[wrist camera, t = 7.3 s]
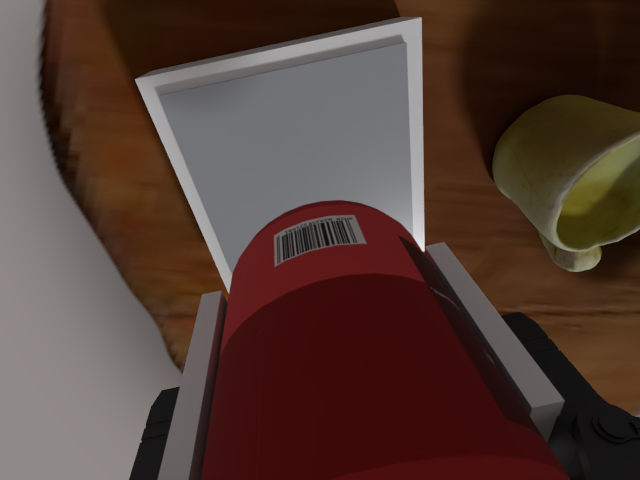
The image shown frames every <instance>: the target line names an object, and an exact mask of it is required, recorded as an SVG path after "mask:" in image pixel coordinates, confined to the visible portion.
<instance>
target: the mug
mask: <svg viewBox="0 0 640 480" xmlns="http://www.w3.org/2000/svg"><path fill="white" fill-rule="evenodd" d="M492 172H493V178H494V181H495V184H496V186H497V188H498V189H499V190H500V191H501V192H502V193H503V194H504V195H505V196H506V197H508V198H509V199H511V200H512V201H513V202H514V203H515V204H516V205H517V206H518V207H519V208H520V210H521V211H522V212H523V213H524V214H525V216H526V217H527V218H528V219H529V220H530V221H531V222H532V224H533V225H534V226H535V227H536V228H537V229H538V230H539V235H540V238H541V240H542V242H543V244H544V246H545V247H546V248H547V250H548V253H549V255H550V257H551V259H552V261H553V262H554V263H555V264H557V265H559V266H560V267H562V268H565V269H566V270H568V271H574V272H579V271H584V270H589V269H591V268H593V267H594V266H596V265H597V263H598V262H599V261H600V259H601V255H602V251H601V247H600V246H601V245H606V244H609V243H613V242H618V241H620V240H621V239H623V238H625V237H627V236H629V235H630V234H633V233H635V232H636V231H638V230H639V229H640V112H635V111H631V110H627V109H624V108H621V107H618V106H614V105H611V104H608V103H605V102H601V101H598V100H595V99H592V98H589V97H585V96H581V95H561V96H555V97H551V98H548V99H546V100H544V101H543V102H541V103H539V104H538V105H536V106H534V107H532V108H530V109H528V110H527V111H525V112H524V113H523V114H522V115H521V116H520V117H519V118H518V119H517V120H516V121H515V122H513V123H512V124H511V125H510V126H509V128H508V129H507V130H506V131H505V132H504V133H503V134H502V135H501V137H500V139H499V140H498V142H497V144H496V146H495V151H494V157H493V165H492Z"/></svg>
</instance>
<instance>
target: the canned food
mask: <svg viewBox="0 0 640 480" xmlns="http://www.w3.org/2000/svg"><path fill="white" fill-rule="evenodd" d="M201 480H571V479H570V477H569V476H568V474H567V473H566V471H565V470H564V468H563V467H562V465H561V464H560V462H559V461H558V459H557V458H556V456H555V454H554V453H553V451H552V450H551V448H550V447H549V445H548V444H547V442H546V441H545V439H544V438H543V436H542V434H541V433H540V431H539V430H538V428H537V427H536V425H535V424H534V422H533V421H532V419H531V418H530V416H529V414H528V413H527V411H526V410H525V408H524V407H523V405H522V404H521V402H520V401H519V399H518V398H517V396H516V394H515V393H514V391H513V390H512V388H511V387H510V385H509V384H508V382H507V381H506V379H505V378H504V376H503V374H502V373H501V371H500V370H499V368H498V367H497V365H496V364H495V362H494V361H493V359H492V358H491V356H490V354H489V353H488V351H487V350H486V348H485V347H484V345H483V344H482V342H481V341H480V339H479V338H478V336H477V334H476V333H475V331H474V330H473V328H472V327H471V325H470V324H469V322H468V321H467V319H466V318H465V316H464V314H463V313H462V311H461V310H460V308H459V307H458V305H457V304H456V302H455V301H454V299H453V298H452V296H451V294H450V293H449V291H448V290H447V288H446V287H445V285H444V284H443V282H442V281H441V279H440V278H439V276H438V274H437V273H436V271H435V270H434V268H433V267H432V265H431V264H430V262H429V261H428V259H427V258H426V256H425V254H424V253H423V251H422V250H421V248H420V247H419V245H418V244H417V242H416V241H415V239H414V238H413V236H412V234H411V233H410V232H409V231H408V230H407V229H406V228H405V227H404V226H403V225H402V224H401V223H400V222H398V221H397V220H395V219H393V218H392V217H390V216H389V215H387V214H385V213H384V212H382V211H380V210H378V209H376V208H373V207H371V206H368V205H365V204H362V203H358V202H352V201H345V200H331V201H320V202H315V203H310V204H305V205H302V206H300V207H297V208H295V209H292V210H290V211H287V212H285V213H283V214H282V215H280V216H278V217H277V218H275V219H274V220H272V221H270V222H269V223H268V224H267V225H266V226H265V227H263V228H262V229H261V230H260V231H259V232H258V233H257V234H256V235H255V236H254V238H253V239H252V241H251V242H250V243H249V245H248V246H247V247H246V249H245V250H244V252H243V253H242V254H241V256H240V257H239V259H238V262H237V264H236V266H235V268H234V271H233V273H232V279H231V285H230V292H229V298H228V305H227V311H226V318H225V324H224V331H223V337H222V344H221V350H220V357H219V363H218V370H217V376H216V383H215V389H214V396H213V403H212V409H211V416H210V422H209V429H208V435H207V442H206V448H205V455H204V461H203V468H202V474H201Z"/></svg>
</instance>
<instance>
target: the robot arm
mask: <svg viewBox="0 0 640 480" xmlns="http://www.w3.org/2000/svg"><path fill="white" fill-rule="evenodd" d="M425 256H426V258H427V259H428V261H429V262H430V264H431V265H432V267H433V268H434V270H435V271H436V273H437V274H438V276H439V278H440V279H441V281H442V282H443V284H444V285H445V287H446V288H447V290H448V291H449V293H450V294H451V296H452V298H453V299H454V301H455V302H456V304H457V305H458V307H459V308H460V310H461V311H462V313H463V314H464V316H465V318H466V319H467V321H468V322H469V324H470V325H471V327H472V328H473V330H474V331H475V333H476V334H477V336H478V338H479V339H480V341H481V342H482V344H483V345H484V347H485V348H486V350H487V351H488V353H489V354H490V356H491V358H492V359H493V361H494V362H495V364H496V365H497V367H498V368H499V370H500V371H501V373H502V374H503V376H504V378H505V379H506V381H507V382H508V384H509V385H510V387H511V388H512V390H513V391H514V393H515V394H516V396H517V398H518V399H519V401H520V402H521V404H522V405H523V407H524V408H525V410H526V411H527V413H528V414H529V416H530V418H531V419H532V421H533V422H534V424H535V425H536V427H537V428H538V430H539V431H540V433H541V434H542V436H543V438H544V439H545V441H546V442H547V444H548V445H549V447H550V448H551V450H552V451H553V453H554V454H555V456H556V458H557V459H558V461H559V462H560V464H561V465H562V467H563V468H564V470H565V471H566V473H567V474H568V476H569V477H570V479H571V480H640V418H639V417H635V416H632V415H631V414H629V413H628V412H626V411H624V410H623V409H621V408H619V407H617V406H615V405H611V404H609V403H607V402H606V401H605V400H603V399H602V398H601V397H600V396H599V395H598V394H597V393H596V391H595V390H594V389H593V388H592V387H591V386H590V384H589V383H588V382H587V381H586V380H585V379H584V377H583V376H582V375H581V374H580V373H579V372H578V370H577V369H576V368H575V367H574V366H573V365H572V363H571V362H570V361H569V360H568V359H567V358H566V357H565V355H564V354H563V353H562V352H561V351H559V350H558V347H557V346H556V345H555V344H554V343H553V341H552V340H551V339H549V338H548V336H547V334H546V333H545V332H544V331H543V330H542V329H541V327H540V326H539V325H538V324H537V323H536V322H535V321H533V320H532V319H530V318H528V317H527V316H525V315H524V314H522V313H521V312H516V313H512V314H507V315H502V316H500V315H499V313H498V312H497V311H496V310H495V308H494V307H493V306H492V304H491V303H490V302H489V300H488V299H487V298H486V296H485V295H484V294H483V292H482V291H481V290H480V288H479V287H478V286H477V285H476V283H475V282H474V281H473V279H472V278H471V277H470V275H469V274H468V273H467V271H466V270H465V269H464V267H463V266H462V265H461V263H460V262H459V261H458V260H457V258H456V257H455V256H454V254H453V253H452V252H451V250H450V249H449V248H448V246H447V245H446V244H445V242H442V243H438V244H433V245H428V246H425ZM227 305H228V304H227V301H226V299H225V297H224V295H223V293H222V290H221V291H217V292H212V293H207V294H203V295H202V297H201V302H200V306H199V310H198V314H197V318H196V322H195V326H194V331H193V335H192V339H191V343H190V347H189V351H188V355H187V360H186V364H185V368H184V372H183V376H182V380H181V385H180V387H176V388H172V389H167V390H162V391H161V393H160V394H159V396H158V397H157V399H156V400H155V402H154V404H153V405H152V406H151V409H150V412H149V416H148V419H147V422H146V428H145V429H144V432H143V435H142V439H141V440H142V442H141V443H140V445H139V449H138V452H137V456H136V459H135V462H134V465H133V469H132V472H131V475H130V479H129V480H201V474H202V468H203V461H204V455H205V448H206V442H207V435H208V429H209V422H210V416H211V409H212V403H213V396H214V389H215V383H216V376H217V370H218V363H219V357H220V350H221V344H222V337H223V331H224V324H225V318H226V311H227Z"/></svg>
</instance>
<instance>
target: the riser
mask: <svg viewBox="0 0 640 480" xmlns="http://www.w3.org/2000/svg"><path fill="white" fill-rule="evenodd" d="M135 81H136V84H137V86H138V88H139V90H140V93H141V95H142V97H143V99H144V102H145V104H146V106H147V109H148V111H149V113H150V115H151V118H152V120H153V122H154V125H155V127H156V129H157V131H158V134H159V136H160V138H161V140H162V143H163V145H164V147H165V150H166V152H167V154H168V156H169V159H170V161H171V163H172V166H173V168H174V170H175V172H176V175H177V177H178V179H179V181H180V184H181V186H182V188H183V191H184V193H185V195H186V197H187V200H188V202H189V204H190V207H191V209H192V211H193V213H194V216H195V218H196V220H197V222H198V225H199V227H200V229H201V232H202V234H203V236H204V238H205V241H206V243H207V245H208V248H209V250H210V252H211V254H212V257H213V259H214V261H215V263H216V266H217V268H218V270H219V273H220V275H221V277H222V279H223V282H224V284H225V286H226V288H227V291H228V293H229V292H230V285H231V279H232V273H233V271H234V268H235V266H236V264H237V262H238V259H239V257H240V256H241V254H242V253H243V252H244V250H245V249H246V247H247V246H248V245H249V243H250V242H251V241H252V239H253V238H254V236H255V235H256V234H257V233H258V232H259V231H260V230H261V229H262V228H263V227H265V226H266V225H267V224H268V223H269V222H270V221H272V220H274V219H275V218H277V217H278V216H280V215H282V214H283V213H285V212H287V211H290V210H292V209H295V208H297V207H300V206H302V205H305V204H310V203H315V202H320V201H331V200H345V201H352V202H358V203H362V204H365V205H368V206H371V207H373V208H376V209H378V210H380V211H382V212H384V213H385V214H387V215H389V216H390V217H392V218H393V219H395V220H397V221H398V222H400V223H401V224H402V225H403V226H404V227H405V228H406V229H407V230H408V231H409V232H410V233H411V234H412V236H413V238H414V239H415V241H416V242H417V244H418V245H419V247H420V248H421V250H422V251H423V252H424V251H425V248H424V169H423V91H422V17H398V18H394V19H389V20H385V21H380V22H375V23H371V24H366V25H361V26H357V27H352V28H347V29H343V30H338V31H334V32H329V33H324V34H320V35H315V36H310V37H306V38H301V39H296V40H292V41H287V42H283V43H278V44H273V45H269V46H264V47H259V48H255V49H250V50H246V51H241V52H236V53H232V54H227V55H222V56H218V57H213V58H208V59H204V60H199V61H195V62H190V63H185V64H181V65H176V66H171V67H167V68H162V69H157V70H153V71H151V72H149V73H147V74H145V75H143V76H140V77H138V78H136V79H135Z"/></svg>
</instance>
